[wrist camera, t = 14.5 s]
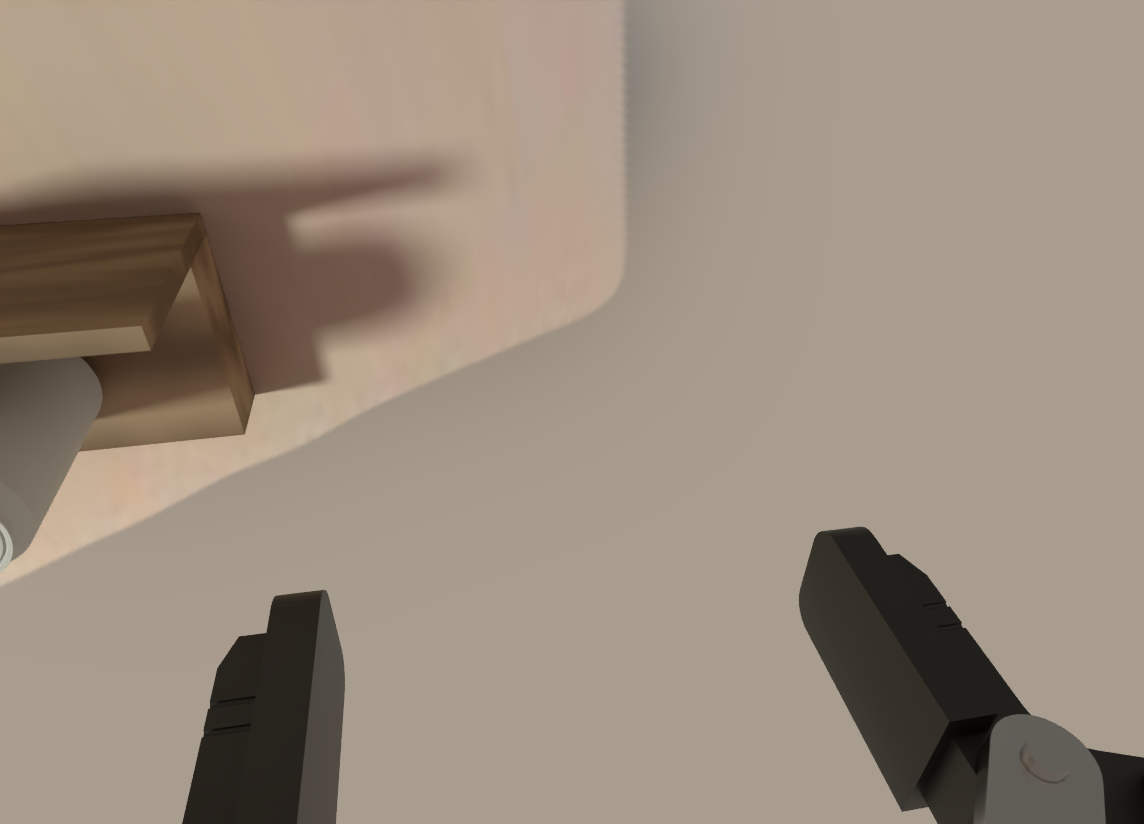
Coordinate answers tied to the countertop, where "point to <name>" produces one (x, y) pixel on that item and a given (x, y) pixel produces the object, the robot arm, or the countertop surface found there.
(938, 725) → the robot arm
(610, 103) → the countertop surface
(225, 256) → the countertop surface
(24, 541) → the beverage can
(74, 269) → the walnut shelf
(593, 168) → the countertop surface
